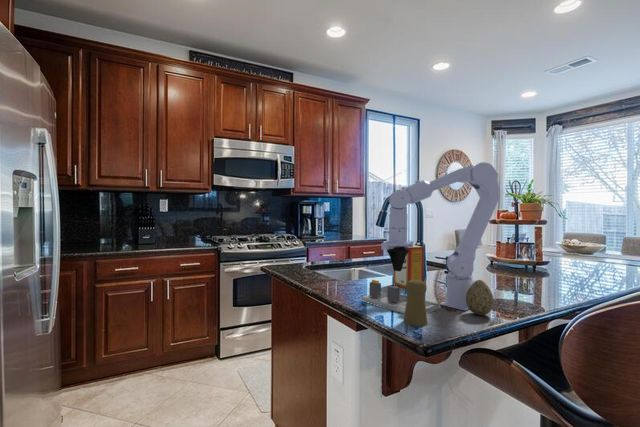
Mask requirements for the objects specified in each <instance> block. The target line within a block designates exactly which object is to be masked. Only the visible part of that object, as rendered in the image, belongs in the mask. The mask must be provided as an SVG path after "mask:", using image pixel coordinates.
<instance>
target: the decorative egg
mask: <svg viewBox="0 0 640 427" xmlns="http://www.w3.org/2000/svg"><path fill="white" fill-rule="evenodd" d="M474 281H475V282H474V283H473V284H472V285H471V286H470V287H469V289H468V291H467V294H466V304H467V306H468V308H469V309H468V310H469V311H471V313H473V314H475V315H477V316H486V315H487V314H488V315H489V313H490V312H491V311H492V309H493V307H494V302H495V301H494V295H493V293H492V290H491V289H490V287H489V286H488V284H487V283H486V282H485V281H484V280H481V279H477V280H474Z"/></svg>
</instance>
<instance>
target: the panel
mask: <svg viewBox="0 0 640 427" xmlns="http://www.w3.org/2000/svg"><path fill="white" fill-rule="evenodd" d="M362 300H364V301H366V302H369V303H372V304H375V305H378V306H377V307H379V306H381V307H380V308H382V307H384V308H383V309H386V308H388V309H387V310H389V309H390V311H393V312H396V311H397V313H399V312H400V314H403V313H404V314H403V315H405V309H406V303H407V295H402V294H400V301H399V302H392V301H388V300H387V291H386V290H383V291H381V297H377V298H376V297H373V296H369V295H363V296H361V301H362ZM372 304H371V305H372ZM375 305H374V306H375ZM425 306H426V314H427V315H428V314H430V313H433V312H435V311H438V310H440V303H437V302H431V301H428V300H425Z"/></svg>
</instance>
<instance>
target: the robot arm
mask: <svg viewBox="0 0 640 427" xmlns="http://www.w3.org/2000/svg"><path fill="white" fill-rule="evenodd" d="M498 179H499V173H498V172H497V170H496V169H495V167H494V166H493V165H492V164H490V163H489V162H485V161H484V162H483V161H482V162H478V163H477V164H476V165H474V164H472V165H468V166H465V167H461V168H458V169H455V170H453V171H451V172H449V173H447V174H444V175H442V176H441V177H438V178H435V179H434V180H431V181H427V180H425V179H423V180H420V179H418V180H415V181H414V183H413V184H410V185H408V186H402V187H401V188H400V189H396V190H395V191H393V192H391V194H390V195H389V196H390V197H389V200H388V202H389V204H390V207H389V214H388V216H389V218H388V221H389V222H388V240H386V242H381V243H380V247H381V248H380V250H385V251H386V252H387V254H388V256H389V258H390V260H391V265H392V268H393V271H401V270H402V266H403V263H404V260H405V257H406V255H407V253H408V252H409V249H407V248H405V247H413V245H414V240H408V216H409V215H408V210H407V209H408V205H409V204H410V205H414V204H416V203H418V202H421V201H424V200H426V199H429V198H431V197H432V193H434V191H437V190H439V189H442V188H445V187H447V186H450V185H453V184H456V183H460V184H461V183H462V184H466V183H468V184H469V185H470V186H471V187H472V188H474V189H475V191H476V193H477V195H478V197H479V200H478V201H477V203H476V206H475V208H474V210H473V212H472V215H471V217H470V220H469V222H468V224H467V225H466V228H465V230H464V232H463V235H462V237H461V239H460V242H459V244H458V245H457V246H456V248H455V249H454V250H453V253H452V254H451V255H450V254H449V256H448V257H447V259H446V263H445V264H446V268H447V269H448V270H449V271H448V273H447V274H446V286H445V287H446V288H445V290H446V292H445V294H446V296H445V297H446V298H445V301H443V302H440V305H441V306H444V307H449V308H452V309H457V310H461V311H468V310H470V309H469V308H468V306H467V304H466V294H467V291H468V289H469V287H470V286H471V285H472V284H473V283H474V282H475V281H476V280H475V279H474V278H473V275H472V274H473V273H474V262H475V260H476V251H477V249H478V246H479V245H480V242H481V240H482V238H483V235H484V233H485V231H486V229H487V227H488V225H489V223H490V220H491V218H492V215H493V214H494V211H495V210H496V208H497V207H496V206H497V204H498V202H499V200H500V197H501V193H500V186H499V180H498Z"/></svg>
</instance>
